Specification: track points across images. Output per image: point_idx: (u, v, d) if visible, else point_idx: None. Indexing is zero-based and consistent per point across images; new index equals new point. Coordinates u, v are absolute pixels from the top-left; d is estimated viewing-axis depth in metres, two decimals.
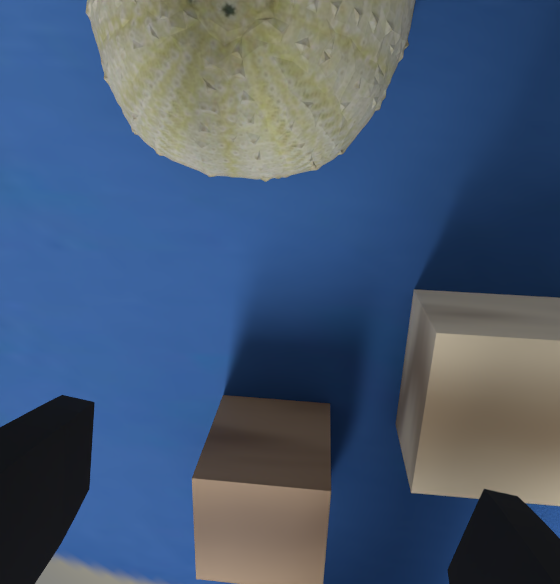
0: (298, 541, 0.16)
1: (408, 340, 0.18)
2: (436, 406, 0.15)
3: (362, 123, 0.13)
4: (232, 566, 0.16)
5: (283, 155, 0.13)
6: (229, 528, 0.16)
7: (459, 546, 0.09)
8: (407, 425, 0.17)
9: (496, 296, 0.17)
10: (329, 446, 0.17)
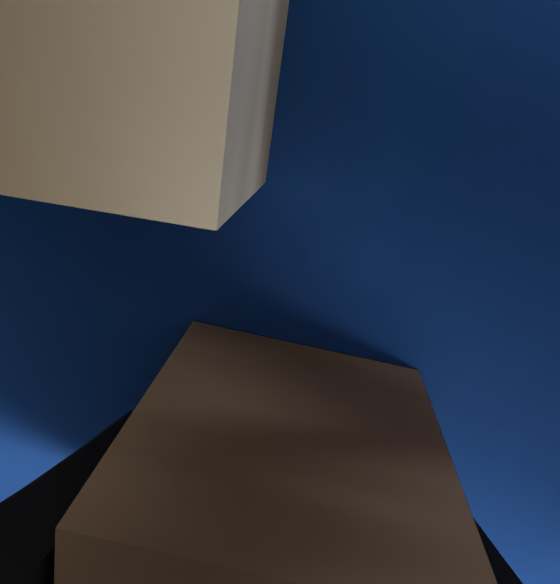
0: None
1: None
2: None
3: None
4: None
5: None
6: None
7: None
8: None
9: None
10: (139, 403, 0.07)
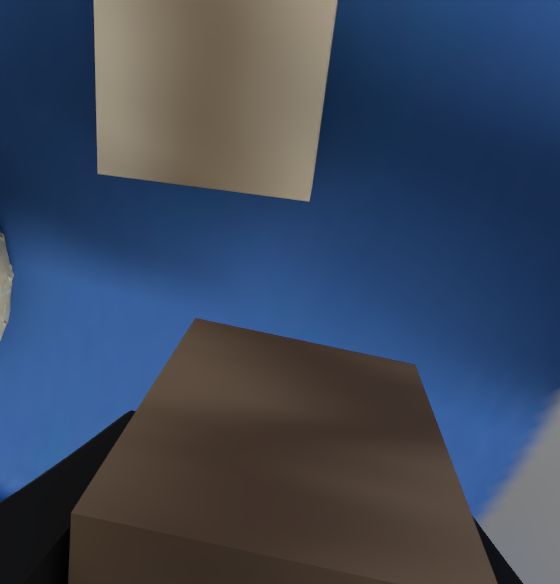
0: None
1: None
2: (185, 172, 0.13)
3: None
4: None
5: None
6: None
7: None
8: None
9: None
10: (145, 397, 0.07)
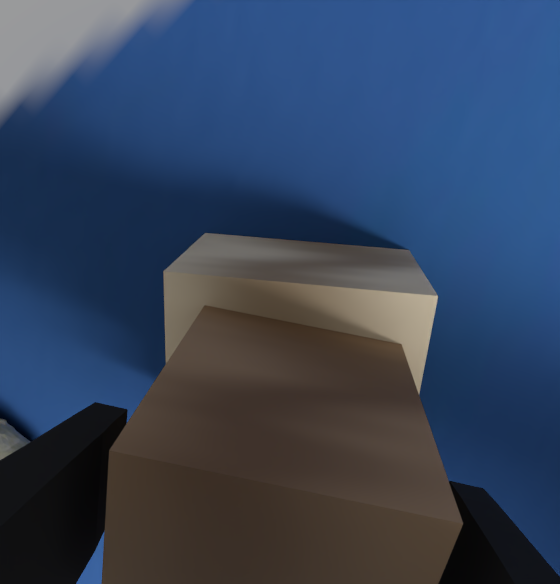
0: (271, 542, 0.06)
1: None
2: None
3: None
4: None
5: None
6: None
7: None
8: None
9: None
10: (164, 368, 0.08)
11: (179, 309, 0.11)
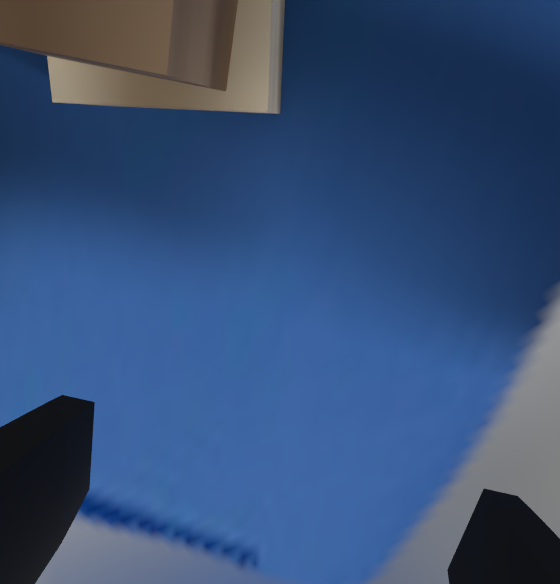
0: None
1: (163, 108, 0.16)
2: (140, 92, 0.13)
3: None
4: None
5: None
6: None
7: (459, 546, 0.09)
8: None
9: None
10: None
11: None
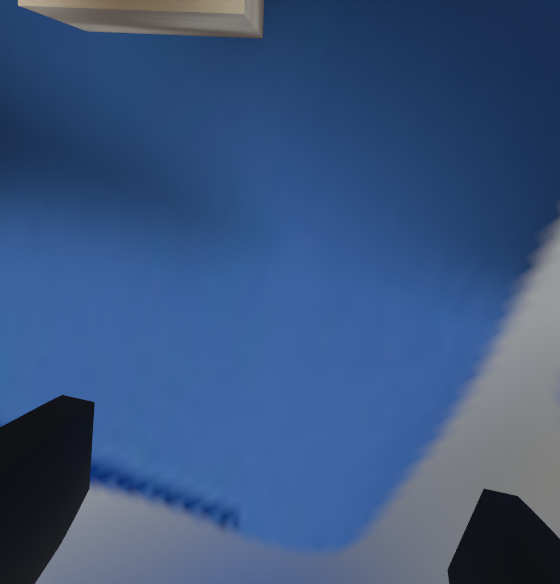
0: None
1: (141, 32, 0.16)
2: None
3: None
4: None
5: None
6: None
7: (459, 546, 0.09)
8: (206, 25, 0.14)
9: None
10: None
11: None
